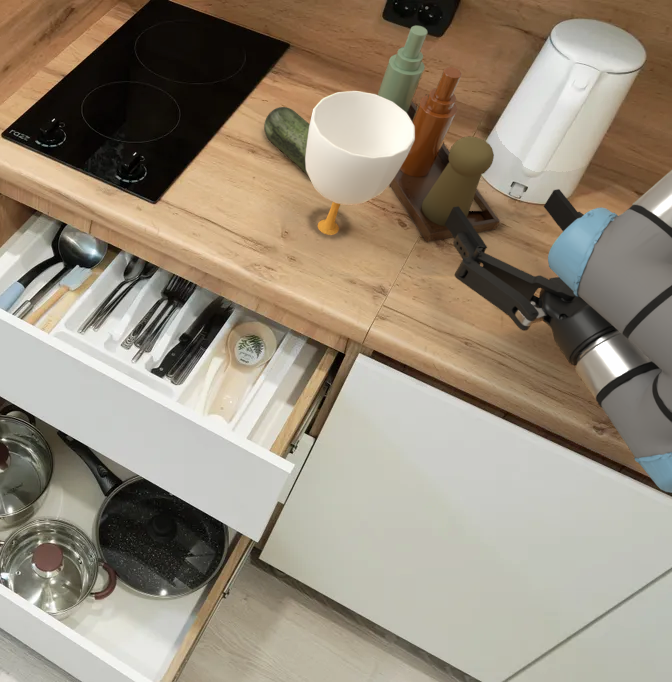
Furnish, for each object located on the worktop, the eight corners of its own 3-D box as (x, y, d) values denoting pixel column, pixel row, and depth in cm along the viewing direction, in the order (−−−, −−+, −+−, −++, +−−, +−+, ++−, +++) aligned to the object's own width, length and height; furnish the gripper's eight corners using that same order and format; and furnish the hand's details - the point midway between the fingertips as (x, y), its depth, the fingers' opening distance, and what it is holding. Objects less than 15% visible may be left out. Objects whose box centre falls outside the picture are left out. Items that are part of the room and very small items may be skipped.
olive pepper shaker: (476, 213, 106) (511, 148, 97) (449, 234, 104) (482, 169, 95) (439, 188, 109) (470, 122, 100) (412, 207, 106) (441, 141, 97)
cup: (342, 189, 108) (379, 82, 94) (390, 250, 102) (437, 145, 88) (266, 210, 105) (292, 101, 91) (310, 274, 99) (346, 168, 85)
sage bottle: (397, 113, 118) (433, 20, 105) (404, 135, 115) (441, 42, 103) (365, 112, 117) (397, 18, 105) (371, 134, 114) (404, 40, 102)
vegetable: (346, 179, 109) (355, 150, 105) (318, 193, 107) (326, 164, 103) (279, 121, 116) (286, 92, 111) (252, 134, 113) (258, 104, 109)
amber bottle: (426, 154, 113) (466, 61, 101) (434, 177, 110) (476, 85, 98) (393, 153, 112) (429, 59, 100) (399, 176, 109) (438, 83, 97)
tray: (493, 232, 105) (500, 221, 103) (424, 245, 103) (430, 233, 101) (400, 102, 120) (405, 91, 118) (339, 111, 118) (342, 99, 116)
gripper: (488, 392, 84) (398, 245, 95) (683, 347, 89) (576, 213, 101) (519, 350, 78) (419, 198, 89) (726, 304, 83) (607, 167, 95)
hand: (502, 206), depth 95 cm, fingers open, 13 cm apart
